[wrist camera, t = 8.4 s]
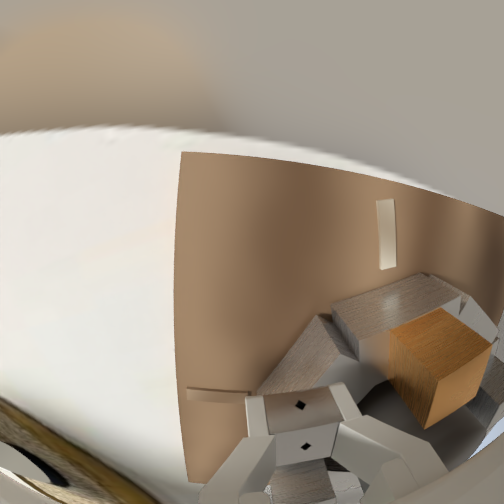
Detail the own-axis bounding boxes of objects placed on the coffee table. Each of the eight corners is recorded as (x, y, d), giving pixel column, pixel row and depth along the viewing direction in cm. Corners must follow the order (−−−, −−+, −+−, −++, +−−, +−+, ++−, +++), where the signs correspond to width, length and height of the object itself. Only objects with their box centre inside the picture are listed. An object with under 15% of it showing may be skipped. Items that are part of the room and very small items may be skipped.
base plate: (189, 472, 16) (183, 554, 8) (186, 154, 10) (90, 96, 3) (421, 444, 18) (454, 495, 10) (514, 222, 12) (593, 248, 5)
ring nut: (229, 331, 11) (229, 450, 5) (474, 249, 11) (555, 283, 5) (284, 474, 14) (297, 540, 9) (445, 409, 14) (481, 455, 9)
